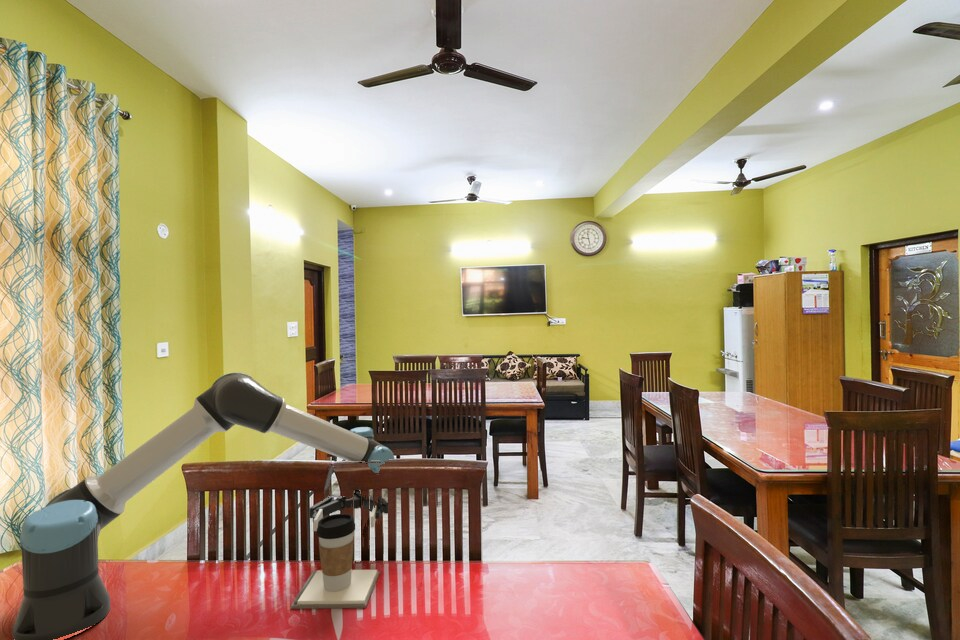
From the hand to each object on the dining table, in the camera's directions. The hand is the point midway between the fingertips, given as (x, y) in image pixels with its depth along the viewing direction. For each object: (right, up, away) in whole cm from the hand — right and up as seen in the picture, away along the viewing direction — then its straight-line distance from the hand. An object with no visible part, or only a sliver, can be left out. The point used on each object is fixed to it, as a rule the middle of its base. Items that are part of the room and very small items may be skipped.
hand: (343, 523), depth 116 cm
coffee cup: (+1, -10, -8) cm, 13 cm away
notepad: (+1, -12, -8) cm, 14 cm away
